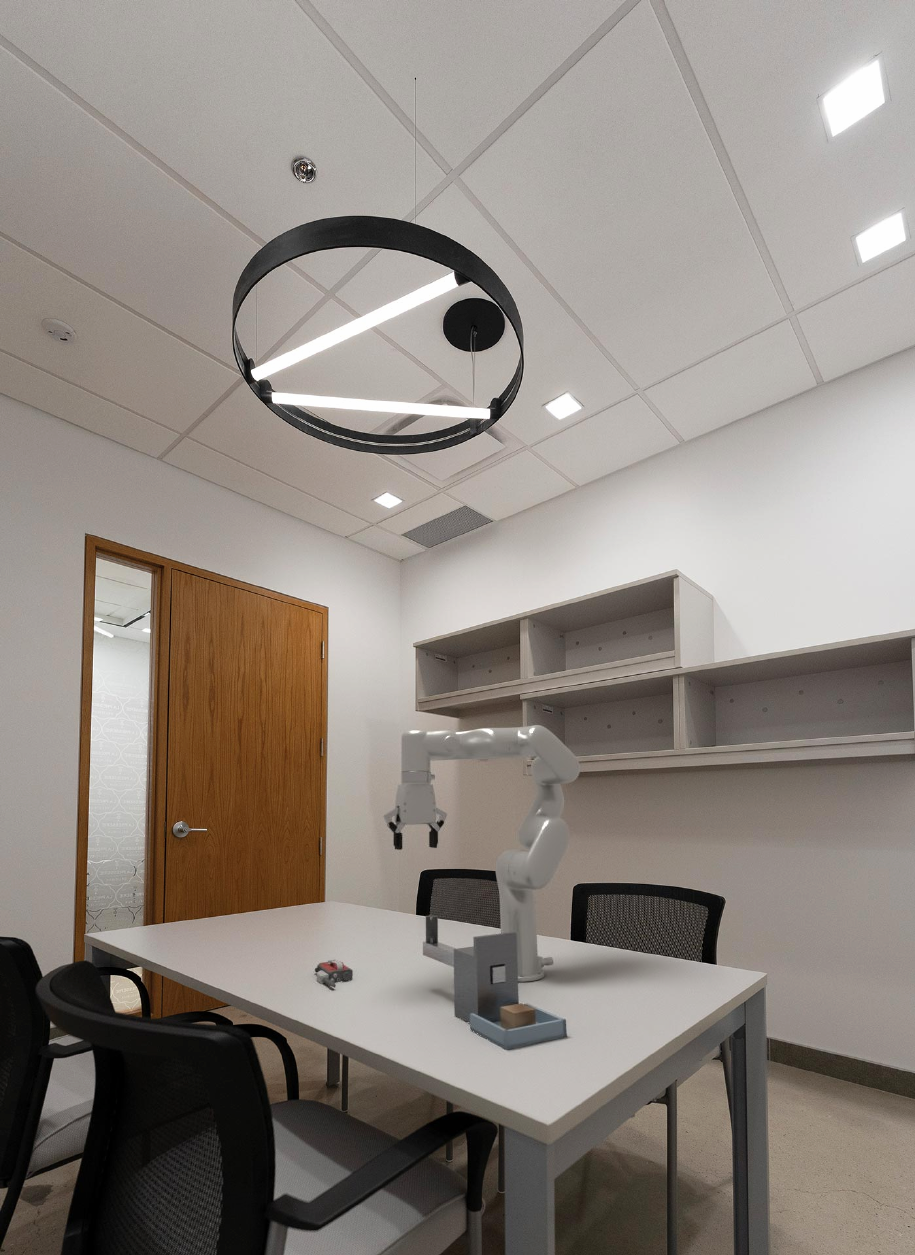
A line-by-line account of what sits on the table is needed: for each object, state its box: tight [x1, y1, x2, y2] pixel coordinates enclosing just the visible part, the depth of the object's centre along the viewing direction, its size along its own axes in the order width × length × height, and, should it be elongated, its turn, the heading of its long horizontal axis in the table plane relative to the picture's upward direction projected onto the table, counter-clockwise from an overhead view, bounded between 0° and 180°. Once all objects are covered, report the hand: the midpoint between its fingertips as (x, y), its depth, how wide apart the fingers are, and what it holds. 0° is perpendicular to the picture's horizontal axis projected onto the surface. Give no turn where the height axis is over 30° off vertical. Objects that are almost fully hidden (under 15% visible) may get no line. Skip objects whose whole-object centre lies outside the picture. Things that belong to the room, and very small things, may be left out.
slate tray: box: [469, 1003, 568, 1050], centre depth 141 cm, size 14×13×3 cm
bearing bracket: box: [453, 932, 520, 1024], centre depth 152 cm, size 10×10×17 cm
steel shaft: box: [422, 915, 505, 984], centre depth 163 cm, size 3×33×9 cm, turn 29°
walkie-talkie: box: [314, 959, 354, 988], centre depth 185 cm, size 9×4×20 cm
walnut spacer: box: [500, 1002, 536, 1030], centre depth 141 cm, size 5×5×4 cm
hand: (416, 848), depth 178 cm, fingers open, 9 cm apart
